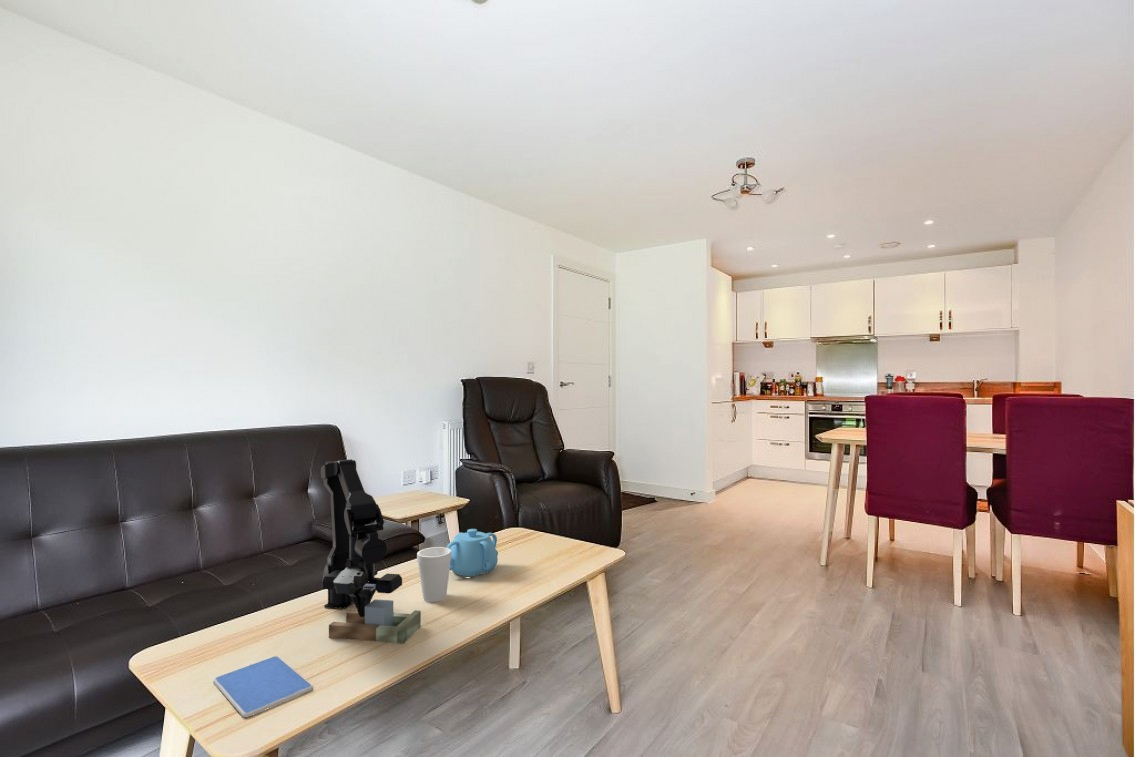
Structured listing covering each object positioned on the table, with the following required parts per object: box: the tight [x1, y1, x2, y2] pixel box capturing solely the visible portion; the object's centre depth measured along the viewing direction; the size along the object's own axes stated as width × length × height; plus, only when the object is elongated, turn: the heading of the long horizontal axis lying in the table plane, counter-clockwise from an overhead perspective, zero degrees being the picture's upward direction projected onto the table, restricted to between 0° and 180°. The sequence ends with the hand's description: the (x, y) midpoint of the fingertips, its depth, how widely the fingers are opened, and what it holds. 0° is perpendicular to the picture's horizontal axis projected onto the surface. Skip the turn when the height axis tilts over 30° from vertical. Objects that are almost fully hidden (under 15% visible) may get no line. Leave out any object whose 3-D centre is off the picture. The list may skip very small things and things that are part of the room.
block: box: [365, 598, 394, 626], centre depth 129 cm, size 5×4×7 cm
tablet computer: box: [212, 655, 314, 718], centre depth 106 cm, size 19×13×1 cm, turn 49°
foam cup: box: [416, 546, 451, 603], centre depth 149 cm, size 10×9×13 cm
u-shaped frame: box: [328, 609, 422, 645], centre depth 129 cm, size 19×9×4 cm, turn 79°
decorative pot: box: [446, 528, 499, 578], centre depth 170 cm, size 16×16×14 cm
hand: (362, 616), depth 129 cm, fingers closed
